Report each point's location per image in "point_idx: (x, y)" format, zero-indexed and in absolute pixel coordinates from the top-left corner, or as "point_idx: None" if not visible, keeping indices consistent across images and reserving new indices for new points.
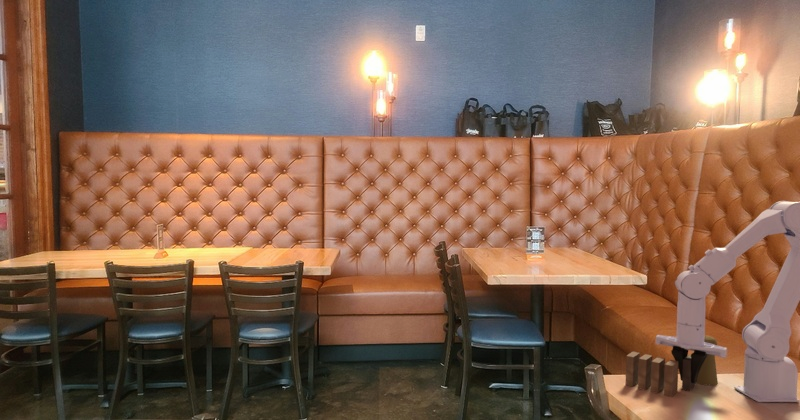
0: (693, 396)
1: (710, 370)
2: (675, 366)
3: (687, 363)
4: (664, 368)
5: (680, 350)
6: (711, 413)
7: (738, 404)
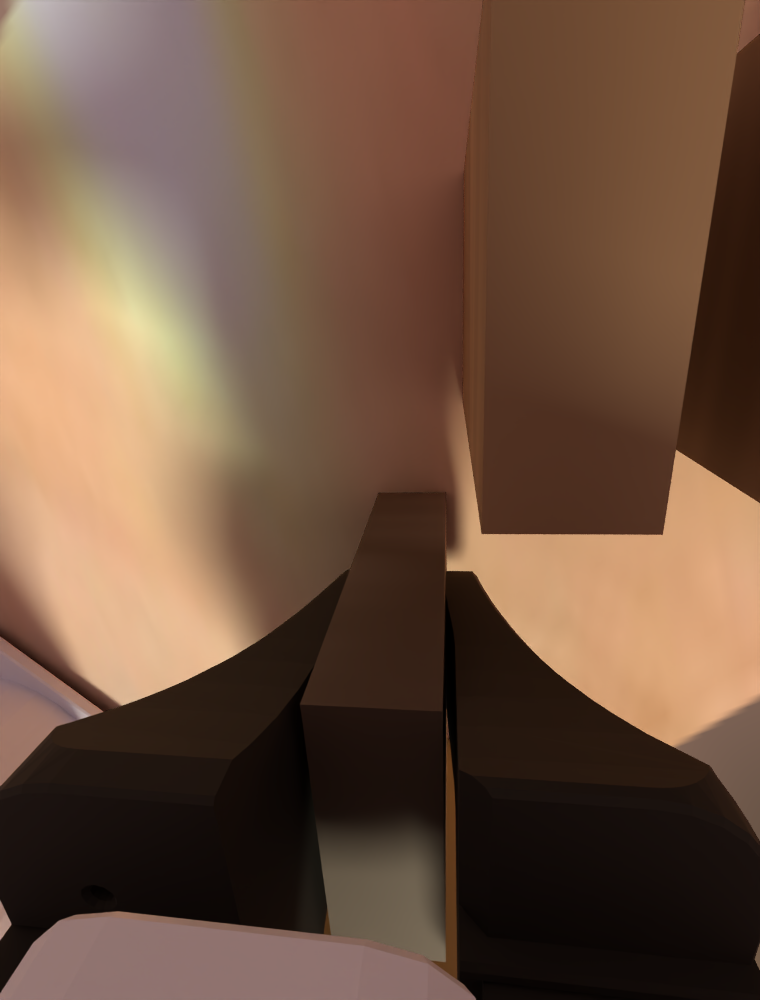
0: (309, 383)
1: None
2: (480, 288)
3: (366, 667)
4: (697, 433)
5: (547, 966)
6: (10, 12)
7: (14, 477)
